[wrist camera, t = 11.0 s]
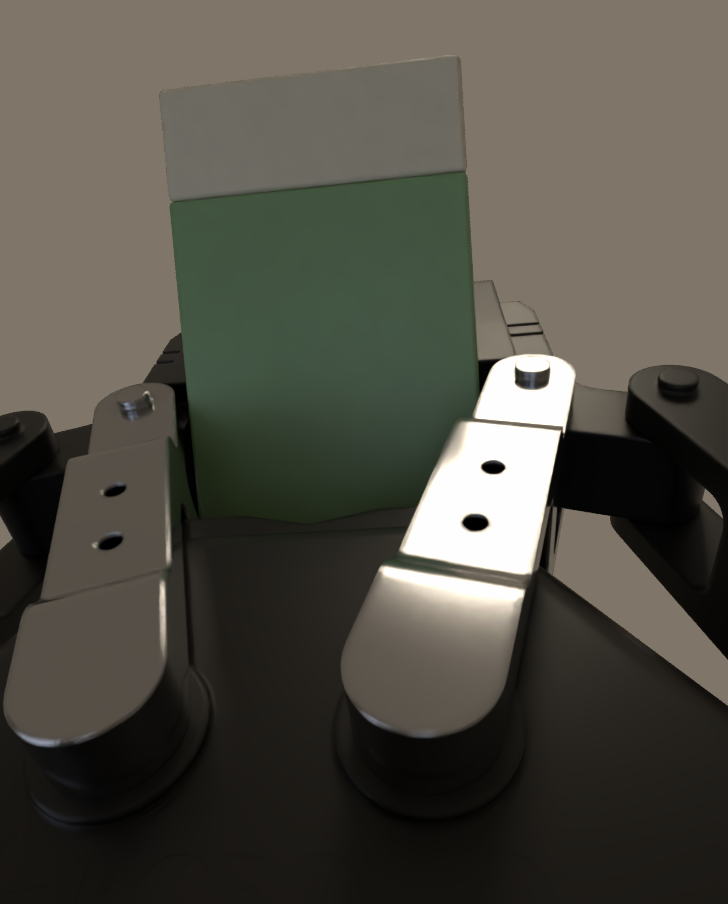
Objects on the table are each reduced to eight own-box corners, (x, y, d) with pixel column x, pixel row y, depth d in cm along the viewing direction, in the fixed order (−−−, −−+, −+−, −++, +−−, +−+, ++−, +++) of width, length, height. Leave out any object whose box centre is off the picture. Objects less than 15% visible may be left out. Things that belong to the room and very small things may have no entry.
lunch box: (491, 577, 10) (460, 50, 9) (203, 591, 10) (156, 88, 10) (445, 453, 30) (435, 284, 29) (348, 459, 30) (336, 293, 29)
